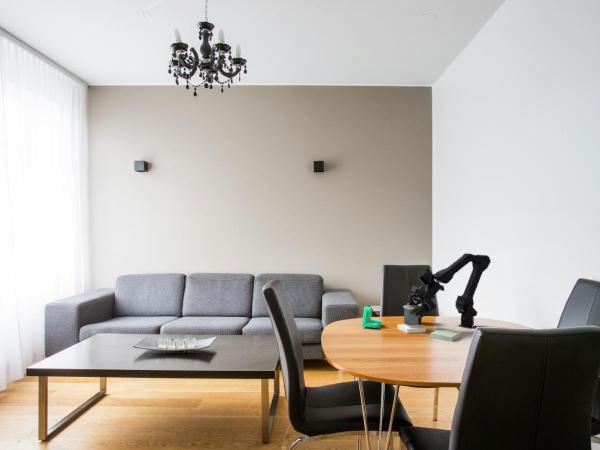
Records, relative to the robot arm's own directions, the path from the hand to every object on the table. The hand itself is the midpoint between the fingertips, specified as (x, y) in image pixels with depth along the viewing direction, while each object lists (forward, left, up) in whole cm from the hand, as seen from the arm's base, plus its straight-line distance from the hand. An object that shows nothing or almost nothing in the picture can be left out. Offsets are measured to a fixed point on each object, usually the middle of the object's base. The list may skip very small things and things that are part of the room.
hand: (411, 313), depth 197 cm
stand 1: (0, 0, -8) cm, 8 cm away
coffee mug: (-15, -9, -8) cm, 19 cm away
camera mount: (+11, -16, -9) cm, 22 cm away
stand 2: (-3, +18, -8) cm, 20 cm away
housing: (0, 0, -6) cm, 6 cm away
